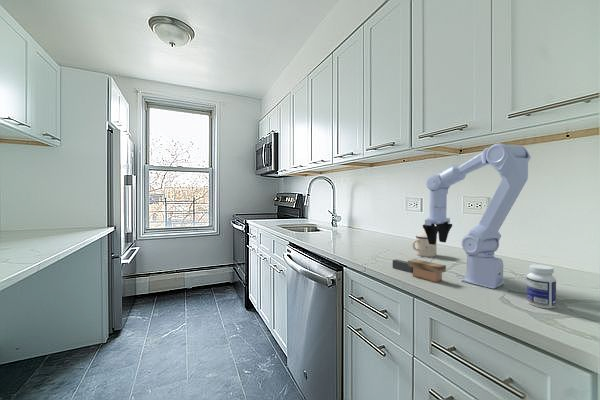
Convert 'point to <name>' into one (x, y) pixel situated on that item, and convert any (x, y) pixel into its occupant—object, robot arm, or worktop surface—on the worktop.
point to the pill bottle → (541, 287)
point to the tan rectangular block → (427, 275)
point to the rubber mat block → (402, 265)
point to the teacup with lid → (424, 246)
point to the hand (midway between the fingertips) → (437, 243)
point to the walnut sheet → (427, 266)
